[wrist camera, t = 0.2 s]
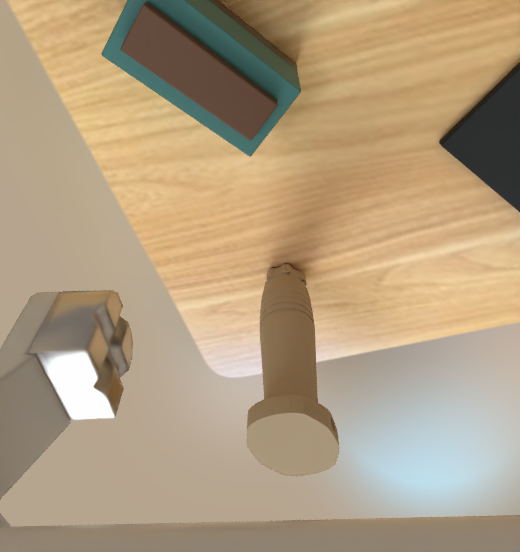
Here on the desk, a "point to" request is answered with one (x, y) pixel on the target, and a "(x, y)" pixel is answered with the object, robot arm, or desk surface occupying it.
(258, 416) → the handle
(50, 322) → the robot arm
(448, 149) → the mat
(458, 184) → the desk surface
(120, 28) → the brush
